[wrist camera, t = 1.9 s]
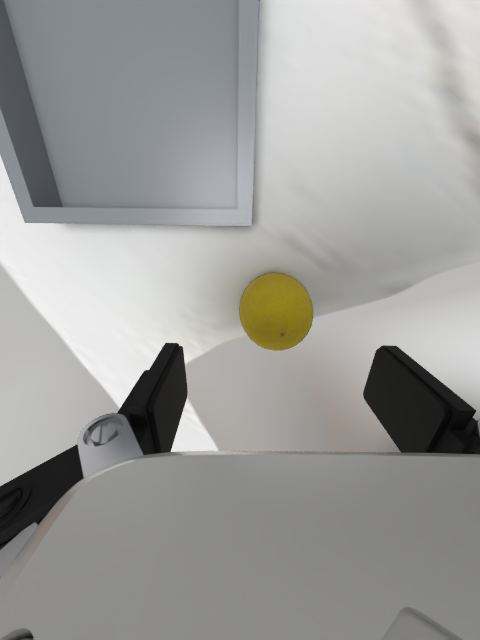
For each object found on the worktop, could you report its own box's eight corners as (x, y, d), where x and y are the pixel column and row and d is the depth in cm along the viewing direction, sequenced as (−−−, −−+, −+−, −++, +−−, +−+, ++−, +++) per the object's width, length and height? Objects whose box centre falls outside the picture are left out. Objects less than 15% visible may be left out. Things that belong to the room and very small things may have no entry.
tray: (261, -103, 12) (266, -221, 9) (251, 224, 19) (251, 225, 15) (-32, -98, 12) (-130, -209, 9) (62, 221, 19) (24, 222, 16)
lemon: (251, 327, 23) (253, 379, 15) (232, 276, 20) (224, 308, 13) (305, 310, 22) (335, 358, 14) (291, 255, 19) (317, 278, 12)
